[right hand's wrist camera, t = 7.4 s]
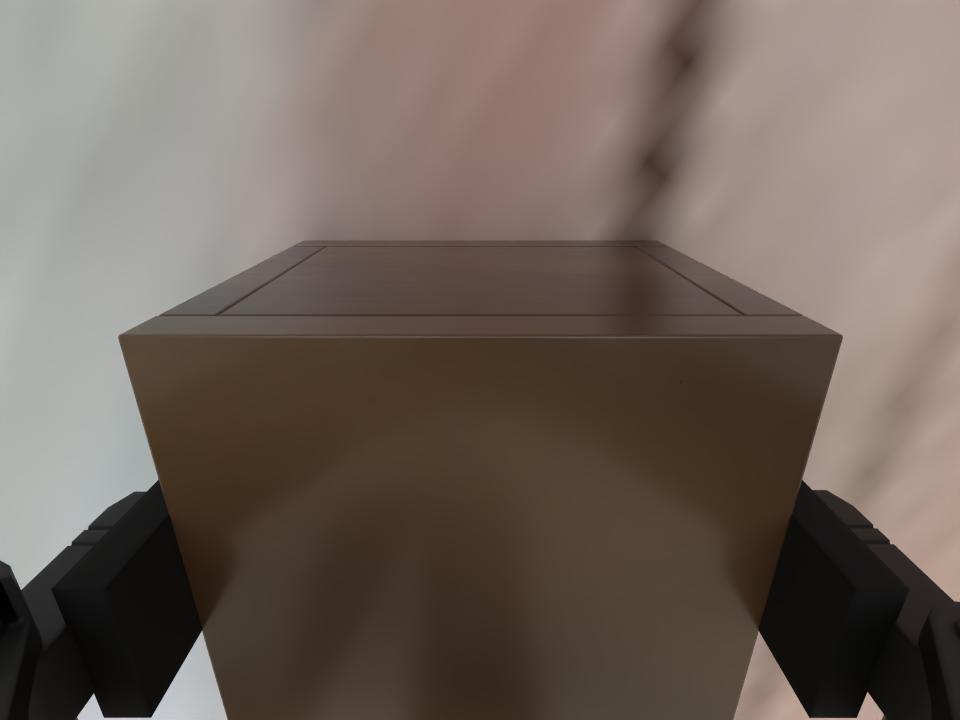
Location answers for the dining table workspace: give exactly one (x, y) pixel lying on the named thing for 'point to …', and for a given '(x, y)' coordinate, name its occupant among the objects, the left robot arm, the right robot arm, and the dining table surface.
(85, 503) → the dining table surface
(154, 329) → the cabinet
